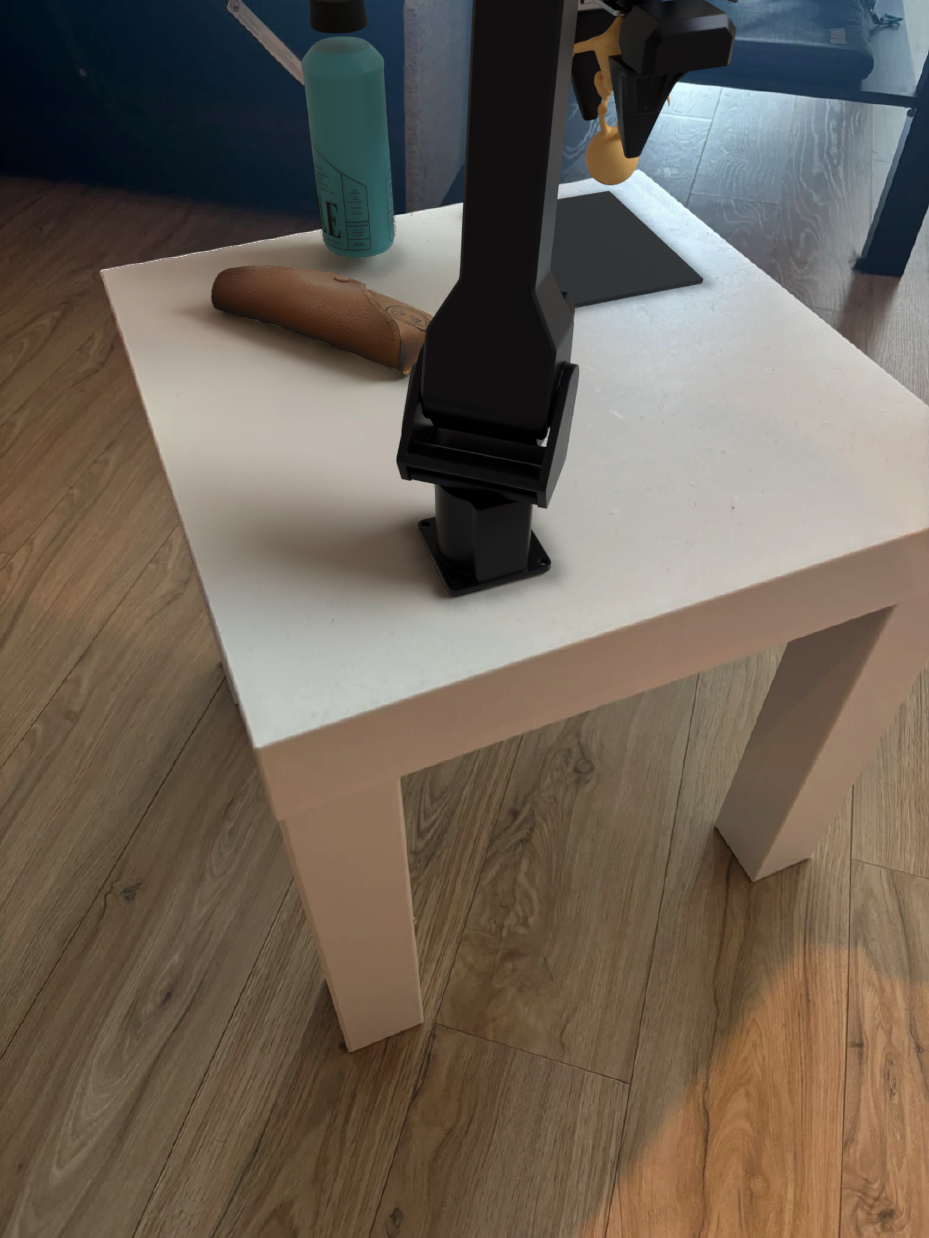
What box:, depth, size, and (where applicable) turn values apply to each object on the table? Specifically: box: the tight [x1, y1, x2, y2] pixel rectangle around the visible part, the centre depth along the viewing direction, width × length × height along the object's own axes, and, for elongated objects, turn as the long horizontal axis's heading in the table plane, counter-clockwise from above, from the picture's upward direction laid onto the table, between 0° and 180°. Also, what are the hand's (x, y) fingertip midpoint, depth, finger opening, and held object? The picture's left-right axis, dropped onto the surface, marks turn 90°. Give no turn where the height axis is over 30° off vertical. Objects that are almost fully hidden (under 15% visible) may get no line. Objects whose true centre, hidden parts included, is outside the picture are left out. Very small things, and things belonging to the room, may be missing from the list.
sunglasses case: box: [210, 264, 434, 377], centre depth 73 cm, size 18×7×7 cm, turn 60°
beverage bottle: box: [300, 0, 398, 259], centre depth 74 cm, size 6×7×20 cm
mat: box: [550, 190, 704, 308], centre depth 83 cm, size 18×14×1 cm
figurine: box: [573, 15, 671, 186], centre depth 67 cm, size 8×6×12 cm
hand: (610, 138), depth 68 cm, fingers closed on figurine, 7 cm apart
